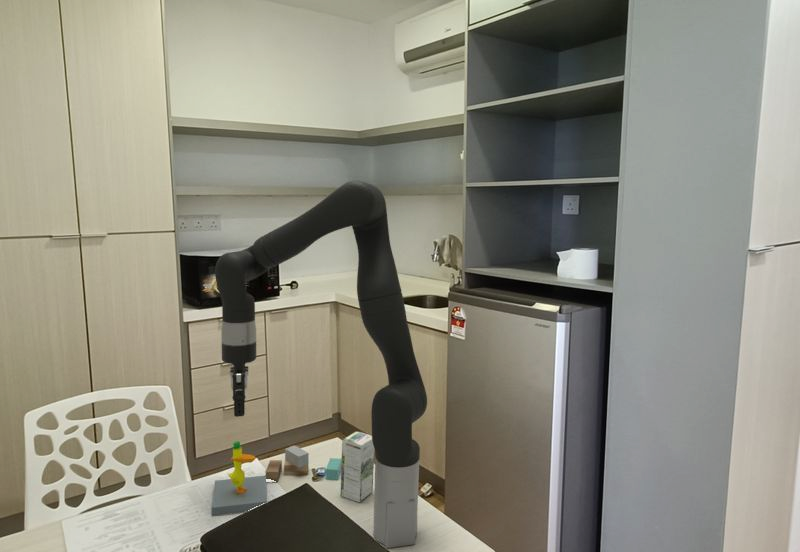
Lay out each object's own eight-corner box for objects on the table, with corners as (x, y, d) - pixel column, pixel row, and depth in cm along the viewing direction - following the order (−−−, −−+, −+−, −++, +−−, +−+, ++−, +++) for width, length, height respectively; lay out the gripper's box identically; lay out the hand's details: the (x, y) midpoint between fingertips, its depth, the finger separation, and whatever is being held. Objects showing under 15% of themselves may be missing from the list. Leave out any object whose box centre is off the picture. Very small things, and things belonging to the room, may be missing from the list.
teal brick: (337, 481, 136) (337, 469, 135) (325, 480, 136) (326, 469, 136) (341, 469, 142) (341, 458, 141) (330, 468, 142) (330, 458, 142)
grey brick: (308, 464, 138) (308, 452, 138) (298, 467, 136) (298, 456, 135) (294, 456, 142) (294, 445, 142) (285, 459, 140) (285, 448, 139)
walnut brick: (277, 483, 134) (277, 471, 134) (265, 483, 134) (265, 471, 133) (281, 471, 140) (281, 460, 139) (270, 471, 140) (270, 460, 139)
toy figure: (258, 488, 127) (257, 440, 125) (253, 496, 123) (251, 446, 122) (230, 486, 127) (229, 438, 126) (224, 494, 124) (222, 445, 122)
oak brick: (308, 469, 141) (308, 459, 141) (307, 475, 138) (307, 464, 138) (285, 470, 140) (285, 459, 140) (283, 476, 137) (284, 465, 137)
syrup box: (353, 485, 133) (354, 430, 131) (373, 492, 130) (375, 436, 128) (339, 496, 128) (340, 438, 126) (360, 503, 125) (361, 444, 124)
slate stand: (267, 509, 122) (267, 501, 122) (211, 516, 119) (211, 507, 118) (266, 482, 133) (266, 475, 133) (215, 488, 130) (214, 480, 130)
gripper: (256, 347, 115) (257, 419, 117) (255, 331, 129) (256, 396, 131) (219, 348, 113) (220, 422, 115) (223, 332, 127) (224, 398, 129)
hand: (239, 408), depth 123 cm, fingers open, 8 cm apart
